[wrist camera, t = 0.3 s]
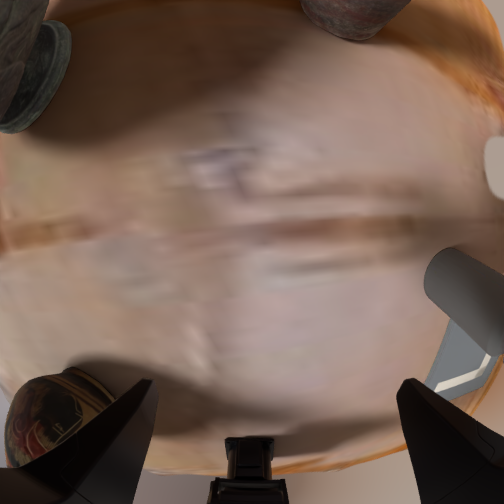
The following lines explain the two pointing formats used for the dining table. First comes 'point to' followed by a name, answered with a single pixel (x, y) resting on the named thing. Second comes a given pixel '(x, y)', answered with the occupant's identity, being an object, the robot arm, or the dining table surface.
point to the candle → (352, 15)
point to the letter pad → (459, 365)
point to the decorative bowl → (29, 61)
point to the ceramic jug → (50, 413)
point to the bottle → (469, 297)
